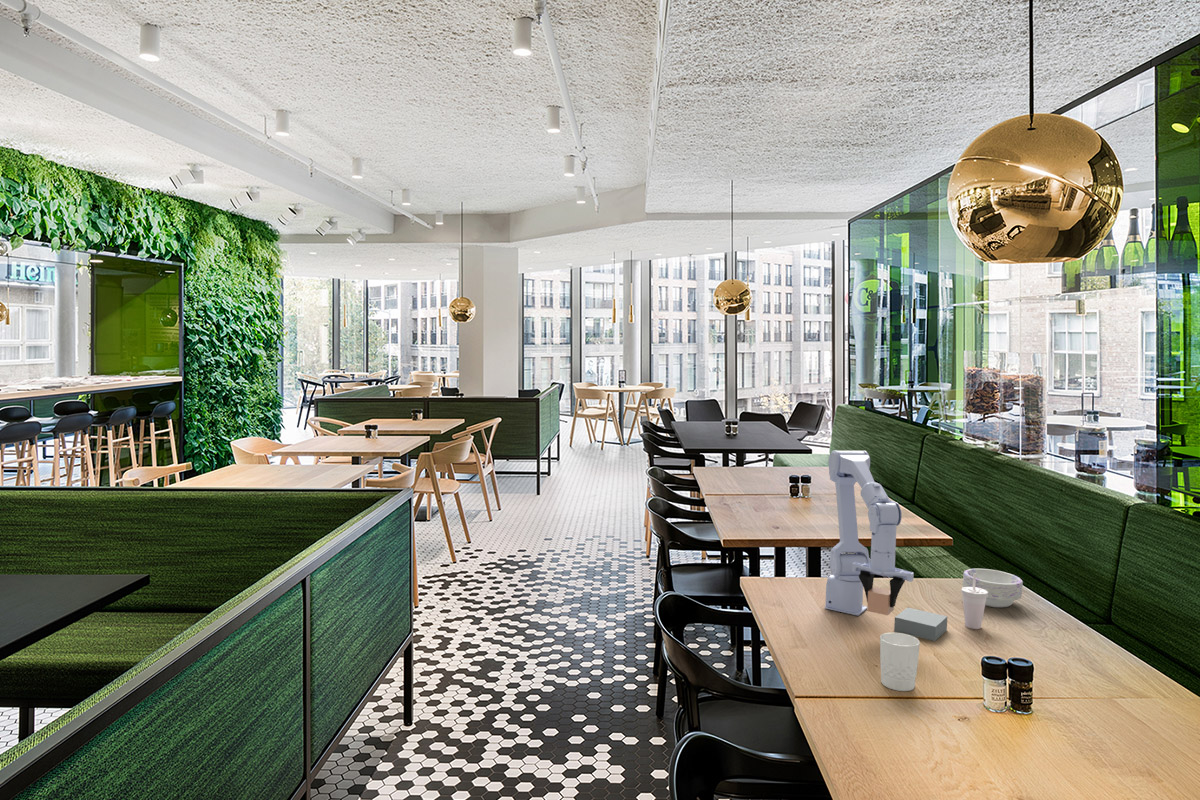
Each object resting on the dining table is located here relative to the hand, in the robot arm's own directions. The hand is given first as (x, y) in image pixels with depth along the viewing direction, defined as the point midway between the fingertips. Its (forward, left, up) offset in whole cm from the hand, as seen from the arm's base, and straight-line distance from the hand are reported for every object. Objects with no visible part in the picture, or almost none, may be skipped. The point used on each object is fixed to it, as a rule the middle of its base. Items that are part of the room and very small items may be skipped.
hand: (880, 603), depth 191 cm
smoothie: (+17, +23, -8) cm, 30 cm away
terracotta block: (0, 0, -2) cm, 2 cm away
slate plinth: (+7, +11, -9) cm, 16 cm away
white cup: (+12, -26, -8) cm, 30 cm away
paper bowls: (+17, +48, -9) cm, 52 cm away
